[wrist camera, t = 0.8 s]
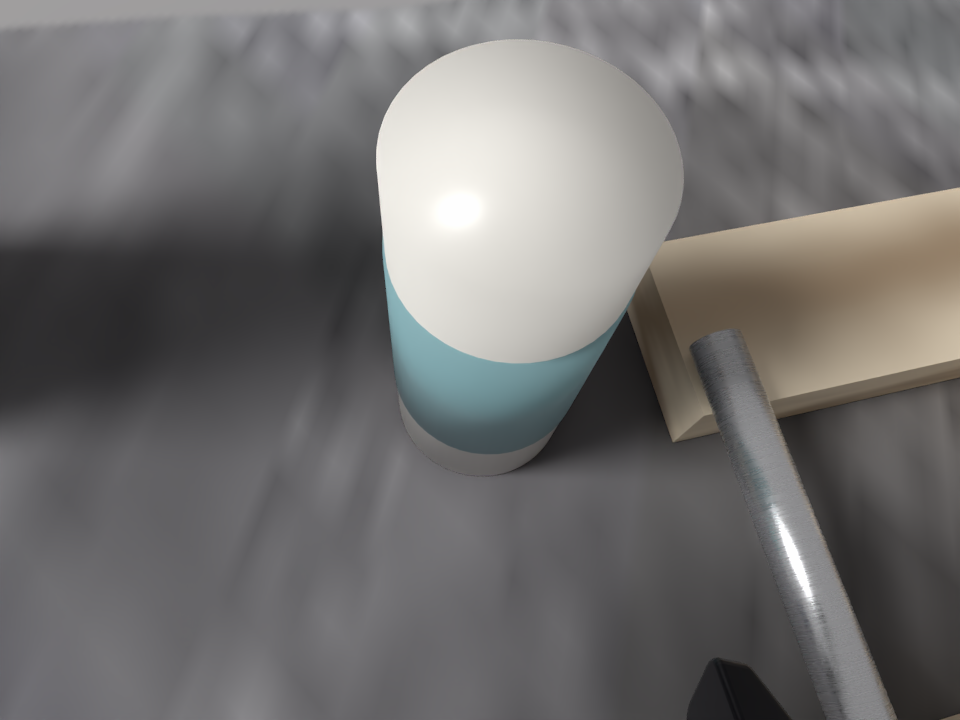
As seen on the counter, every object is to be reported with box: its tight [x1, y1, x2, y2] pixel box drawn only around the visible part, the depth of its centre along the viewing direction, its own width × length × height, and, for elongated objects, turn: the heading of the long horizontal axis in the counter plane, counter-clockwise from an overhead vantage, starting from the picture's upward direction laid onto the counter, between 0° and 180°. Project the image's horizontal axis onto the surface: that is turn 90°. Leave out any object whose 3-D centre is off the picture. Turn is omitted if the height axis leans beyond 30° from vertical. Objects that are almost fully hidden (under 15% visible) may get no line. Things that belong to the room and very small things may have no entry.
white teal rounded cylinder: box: [376, 39, 684, 476], centre depth 19 cm, size 6×6×13 cm
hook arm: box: [689, 329, 898, 720], centre depth 20 cm, size 14×2×2 cm, turn 14°
